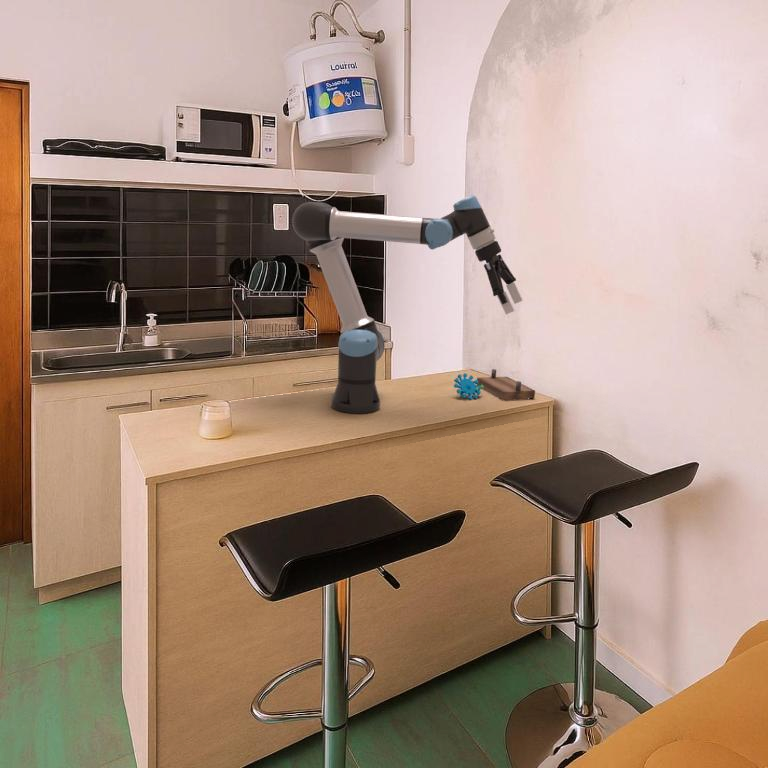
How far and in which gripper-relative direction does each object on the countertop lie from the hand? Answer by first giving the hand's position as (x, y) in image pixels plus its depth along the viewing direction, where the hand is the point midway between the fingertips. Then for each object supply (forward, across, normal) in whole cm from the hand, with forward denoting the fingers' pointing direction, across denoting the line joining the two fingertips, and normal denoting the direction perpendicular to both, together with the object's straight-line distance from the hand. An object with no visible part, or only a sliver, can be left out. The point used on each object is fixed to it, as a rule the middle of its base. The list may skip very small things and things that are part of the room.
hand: (514, 307), depth 209 cm
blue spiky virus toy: (+22, +2, +28) cm, 36 cm away
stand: (+28, +15, +20) cm, 38 cm away
